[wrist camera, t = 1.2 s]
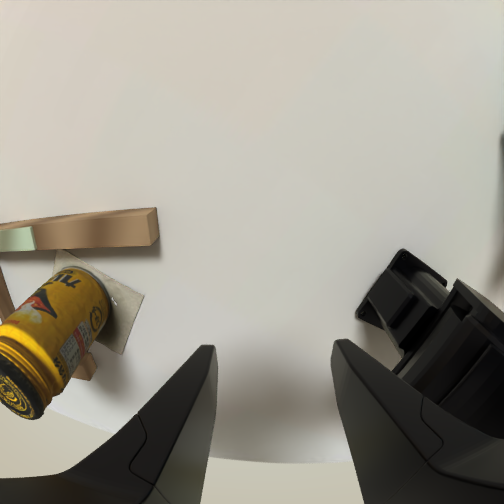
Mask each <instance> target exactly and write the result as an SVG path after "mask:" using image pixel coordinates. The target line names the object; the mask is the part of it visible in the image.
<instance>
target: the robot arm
mask: <svg viewBox="0 0 504 504" xmlns="http://www.w3.org/2000/svg"><path fill="white" fill-rule="evenodd" d="M403 254H405V256H404V257H403V258H402V255H403ZM441 284H442V285H441ZM446 286H447V280H446V279H444V278H443V277H442V276H441V275H439V274H438V273H437V272H435V271H434V270H433V269H432V268H430V267H429V266H428V265H426V264H425V263H424V262H422V261H421V260H420V259H418V258H417V257H415V256H414V255H413V254H411V253H410V252H409V251H407V250H406V249H401V250H399V251H398V253H397V254H396V256H395V257H394V259H393V260H392V262H391V263H390V265H389V266H388V267H387V269H386V270H385V271H384V272H383V274H382V275H381V277H380V278H379V280H378V281H377V282H376V284H375V285H374V287H373V288H372V289H371V291H370V292H369V293H368V295H367V297H366V298H365V300H364V301H363V302H362V304H361V305H360V306H359V307H358V309H357V311H356V314H357V316H358V318H360V319H362V320H364V321H366V322H368V323H370V324H372V325H374V326H376V327H379V328H381V329H383V330H385V331H386V333H387V334H388V336H389V337H390V339H391V341H392V342H393V344H394V346H395V347H396V349H397V351H398V352H399V354H400V356H401V357H402V359H401V361H400V362H399V363H398V364H397V365H396V367H395V368H394V369H393V370H392V371H390V370H389V369H387V368H386V367H385V366H383V365H382V364H381V363H379V362H378V361H377V360H375V359H374V358H373V357H371V356H370V355H369V354H367V353H366V352H365V351H363V350H362V349H361V348H359V347H358V346H357V345H355V344H354V343H353V342H352V341H350V340H349V339H337V340H335V341H334V344H333V350H332V355H331V370H332V376H333V382H334V387H335V394H336V400H337V405H338V409H339V413H340V417H341V420H342V423H343V427H344V430H345V434H346V437H347V441H348V444H349V448H350V452H351V455H352V459H353V462H354V466H355V470H356V473H357V477H358V481H359V485H360V488H361V493H362V496H363V500H364V504H504V313H503V312H502V311H501V310H500V309H499V308H498V307H497V306H495V305H494V304H493V303H492V302H491V301H490V300H488V299H487V298H486V297H484V296H483V295H481V294H480V293H478V292H477V291H476V290H474V289H473V288H471V287H470V286H468V285H467V284H465V283H464V282H462V281H461V280H459V279H458V278H457V279H456V281H455V283H454V284H453V286H454V287H453V288H452V290H451V292H449V291H448V290H447V289H446ZM363 311H364V313H362V314H361V312H363ZM217 383H218V362H217V355H216V348H215V346H214V345H201V346H200V347H199V348H198V349H197V350H196V351H195V352H194V353H193V354H192V355H191V356H190V358H189V359H188V360H187V361H186V362H185V363H184V364H183V365H182V366H181V367H180V368H179V369H178V370H177V371H176V373H175V374H174V375H173V376H172V377H171V378H170V379H169V380H168V381H167V382H166V383H165V384H164V385H163V386H162V387H161V388H160V389H159V391H158V392H157V393H156V394H155V395H154V396H153V397H152V398H151V399H150V400H149V401H148V402H147V403H146V404H145V405H144V406H143V407H142V408H141V409H140V410H139V411H138V414H135V415H134V416H133V417H132V418H131V419H130V421H129V422H127V423H126V424H125V425H124V426H123V427H122V428H121V429H120V430H119V431H118V432H117V433H116V434H115V435H114V436H112V437H111V438H110V439H109V440H108V441H106V442H105V443H104V444H103V445H101V446H100V447H99V448H97V449H96V450H95V451H94V452H92V453H91V454H90V455H88V456H87V457H86V458H84V459H83V460H82V461H80V462H79V463H78V464H76V465H75V466H73V467H72V468H70V469H68V470H66V471H64V472H62V473H59V474H55V475H48V476H37V477H24V478H0V504H200V502H201V496H202V489H203V484H204V479H205V473H206V467H207V461H208V456H209V450H210V445H211V439H212V434H213V428H214V422H215V416H216V406H217Z"/></svg>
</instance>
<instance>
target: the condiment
mask: <svg viewBox="0 0 504 504" xmlns="http://www.w3.org/2000/svg"><path fill="white" fill-rule="evenodd" d="M112 297H113V299H114V301H115V302H116V303H117V306H116V305H115V304H114V301H112V299H111V298H112ZM143 297H144V295H141V294H140V293H138V292H135V291H133V290H132V289H130V288H129V287H127V286H124V285H122V284H120V283H119V282H117V281H115V280H114V279H111V278H109V277H108V276H107V275H105V274H103V273H102V272H100V271H99V270H97V269H95V268H94V267H92V266H90V265H88V264H87V263H85V262H83V261H82V260H80V259H78V258H77V257H75V256H74V255H71V254H70V253H69V252H67V251H65V250H63V249H57V251H56V256H55V262H54V269H53V276H52V278H50V279H49V280H48V281H47V282H46V283H44V284H43V285H42V286H41V287H40V288H38V289H37V290H36V291H35V293H34V294H32V295H31V296H30V297H29V298H28V299H27V300H26V301H25V302H24V303H23V304H22V305H21V306H19V308H18V309H16V310H15V311H14V312H13V313H12V314H11V315H10V316H9V317H8V318H7V319H6V320H5V321H4V322H3V323H2V324H1V325H0V402H1V403H2V404H4V405H5V406H6V407H7V408H9V409H10V410H11V411H12V412H14V413H15V414H17V415H19V416H20V417H22V418H25V419H29V420H35V419H39V418H40V417H41V416H42V415H43V414H44V410H45V408H46V407H47V406H48V405H49V404H50V403H51V401H52V397H54V396H57V395H60V393H62V392H63V390H64V388H65V387H66V385H67V384H68V382H69V380H70V379H71V377H72V375H73V373H74V372H75V370H76V369H77V367H78V365H79V364H80V362H81V360H82V359H83V357H84V356H85V354H86V352H87V351H88V349H89V348H90V346H91V344H92V343H93V341H94V340H96V341H97V342H100V343H101V344H103V345H105V346H107V347H108V348H109V349H111V350H113V351H115V352H117V353H119V354H122V352H123V349H124V346H125V344H126V341H127V338H128V336H129V333H130V330H131V327H132V325H133V322H134V320H135V317H136V314H137V312H138V309H139V306H140V304H141V302H142V299H143Z"/></svg>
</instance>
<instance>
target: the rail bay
mask: <svg viewBox="0 0 504 504" xmlns="http://www.w3.org/2000/svg"><path fill="white" fill-rule="evenodd" d="M158 237H159V228H158V219H157V210H156V207H155V208H141V209H128V210H116V211H104V212H94V213H83V214H74V215H65V216H56V217H47V218H39V219H31V220H24V221H17V222H10V223H3V224H0V252H8V251H29V250H49V249H73V248H98V247H125V246H151V245H152V244H153V242H154V241H155V240H156V239H157V238H158ZM14 311H15V308H14V306H13V303H12V301H11V298H10V295H9V292H8V289H7V286H6V283H5V280H4V277H3V274H2V271H1V268H0V318H1V321H2V323H3V322H4V321H5V320H6V319H7V318H8V317H9V316H10V315H11V314H12V313H13V312H14ZM96 369H97V367H96V364H95V362H94V360H93V358H92V355H91V353H87V352H86V354H85V356H84V357H83V359H82V360H81V362H80V364H79V365H78V367H77V369H76V370H75V372H74V373H73V375H72V378H77V379H82V380H87V381H90V380H91V378H92V376H93V374H94V372H95V370H96Z"/></svg>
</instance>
